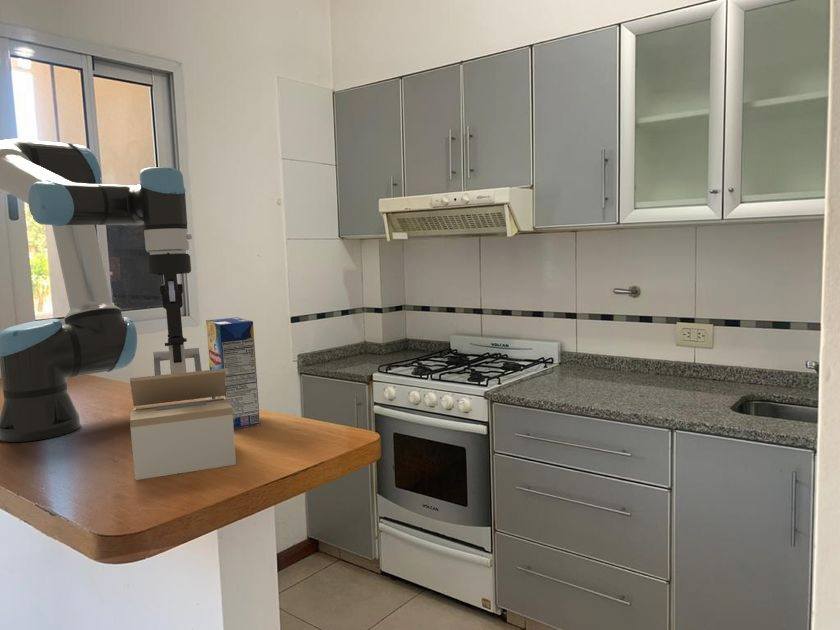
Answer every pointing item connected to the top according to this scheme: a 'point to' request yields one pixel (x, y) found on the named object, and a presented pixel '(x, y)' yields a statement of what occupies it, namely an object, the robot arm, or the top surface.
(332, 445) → the top surface
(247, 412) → the beverage box
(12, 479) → the top surface
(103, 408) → the top surface
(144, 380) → the rear flap
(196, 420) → the carton
